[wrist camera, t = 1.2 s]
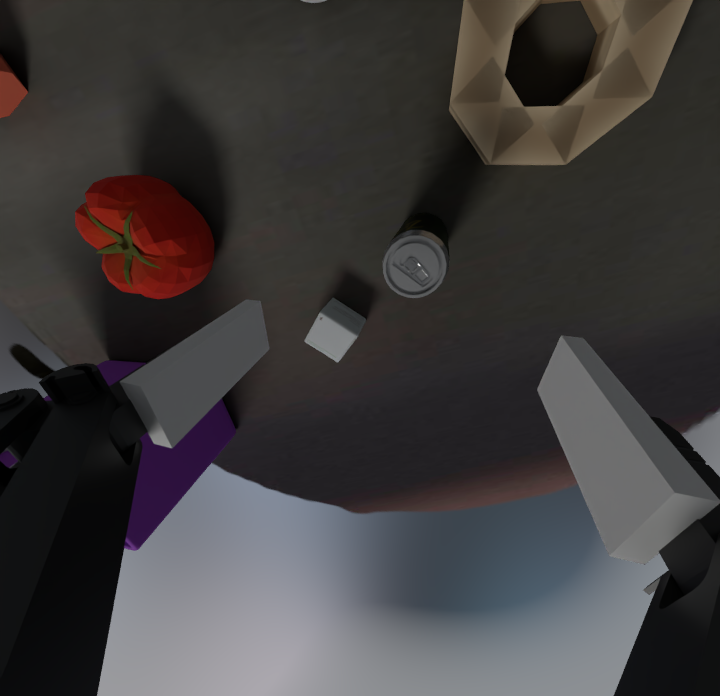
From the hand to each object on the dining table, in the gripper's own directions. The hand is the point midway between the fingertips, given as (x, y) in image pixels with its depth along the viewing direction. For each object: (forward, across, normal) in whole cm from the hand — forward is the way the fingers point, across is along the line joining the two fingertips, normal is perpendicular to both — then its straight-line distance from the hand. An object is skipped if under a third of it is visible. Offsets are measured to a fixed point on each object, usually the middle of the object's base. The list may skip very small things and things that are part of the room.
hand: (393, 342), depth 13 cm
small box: (+24, -10, -12) cm, 28 cm away
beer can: (+24, 0, 0) cm, 24 cm away
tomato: (+24, -32, -1) cm, 40 cm away
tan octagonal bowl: (+23, +8, +14) cm, 28 cm away
